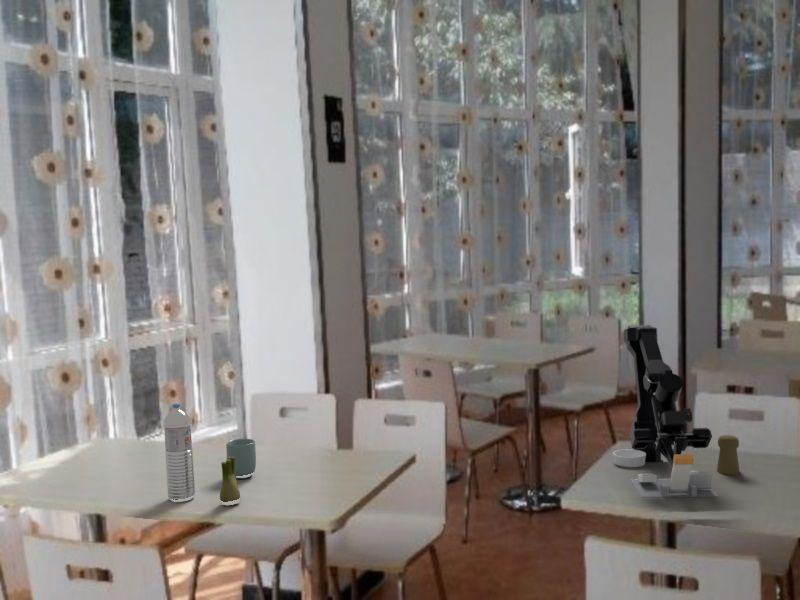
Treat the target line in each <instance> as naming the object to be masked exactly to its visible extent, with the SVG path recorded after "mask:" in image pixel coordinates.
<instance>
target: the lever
mask: <svg viewBox="0 0 800 600" xmlns="http://www.w3.org/2000/svg"><path fill="white" fill-rule="evenodd" d="M693 463H694V455H693V454H692V453H687V454H685V453H684V454H683V453H681V454H674V458H673V467H672V466H671V467H672V469H671V473H670V478H671V479H670V485H669V486H668V493H669V494H671V493H688V483H689V478H690V472H691V470H692V465H693Z"/></svg>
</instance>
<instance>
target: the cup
mask: <svg viewBox="0 0 800 600" xmlns="http://www.w3.org/2000/svg"><path fill="white" fill-rule="evenodd" d="M225 445H226V447H225V449H226V458H227V457H235V476H243V475H248V474H251V473H253V472H254V473H255V471H256V465H257V452H256V450H257V448H256V441H255V440H254V439H251V438H235V439H232V440H229V441H227V442H226V444H225Z"/></svg>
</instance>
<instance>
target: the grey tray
mask: <svg viewBox="0 0 800 600" xmlns="http://www.w3.org/2000/svg"><path fill="white" fill-rule="evenodd" d="M670 479H671V477H667V478H661V477H660V478H659V477H658V478H657V482H641V481H639V480H638V478H629V480H630V483H631V484H632V485H633V486H634V488H635V490H636V491H637V493H638V495H640V497H641V498H693V497H694V498H695V497H696V498H703V497H707V498H708V497H709V498H710V497H712V498H713V497H719V496H718V495H717V493H716V492H714V490H713V489H712V488H711V489H697V487H696V485H695V484H694V483H688V493H671V494H669V493H668V486H669V485H670Z"/></svg>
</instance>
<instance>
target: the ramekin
mask: <svg viewBox="0 0 800 600" xmlns="http://www.w3.org/2000/svg"><path fill="white" fill-rule="evenodd" d="M612 456H613V462H614V464H615V465H617V466H620V467H625V468H637V467H643V466H645V465H646V462H645V457H646V453H645V452H643V451H640V450H634V449H633V448H631V449H617V450H615V451H613V452H612Z"/></svg>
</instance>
